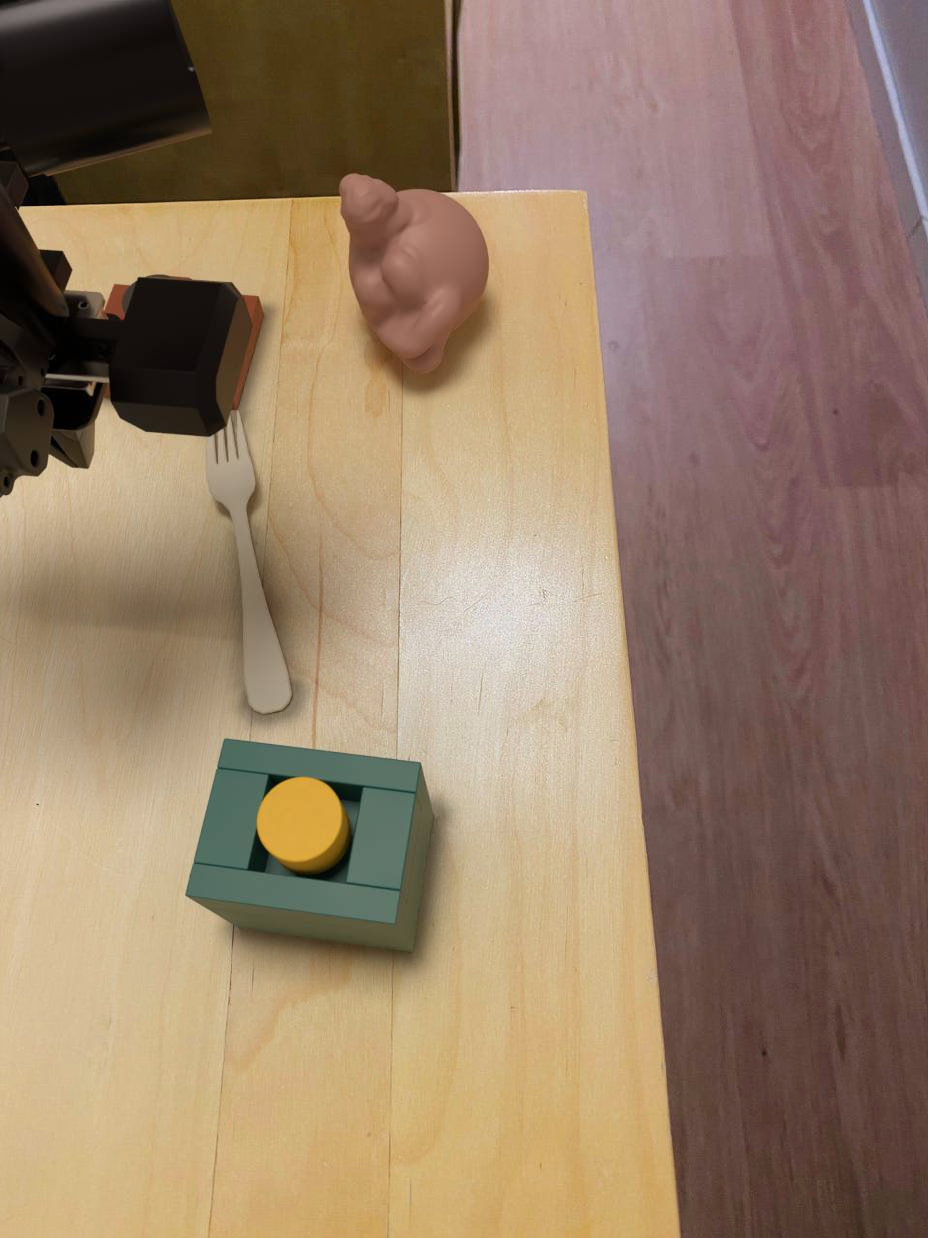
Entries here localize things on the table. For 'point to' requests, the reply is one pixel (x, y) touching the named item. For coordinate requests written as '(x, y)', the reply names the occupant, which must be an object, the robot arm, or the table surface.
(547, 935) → the table surface
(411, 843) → the green push button box
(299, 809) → the cylinder
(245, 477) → the fork
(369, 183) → the figurine
